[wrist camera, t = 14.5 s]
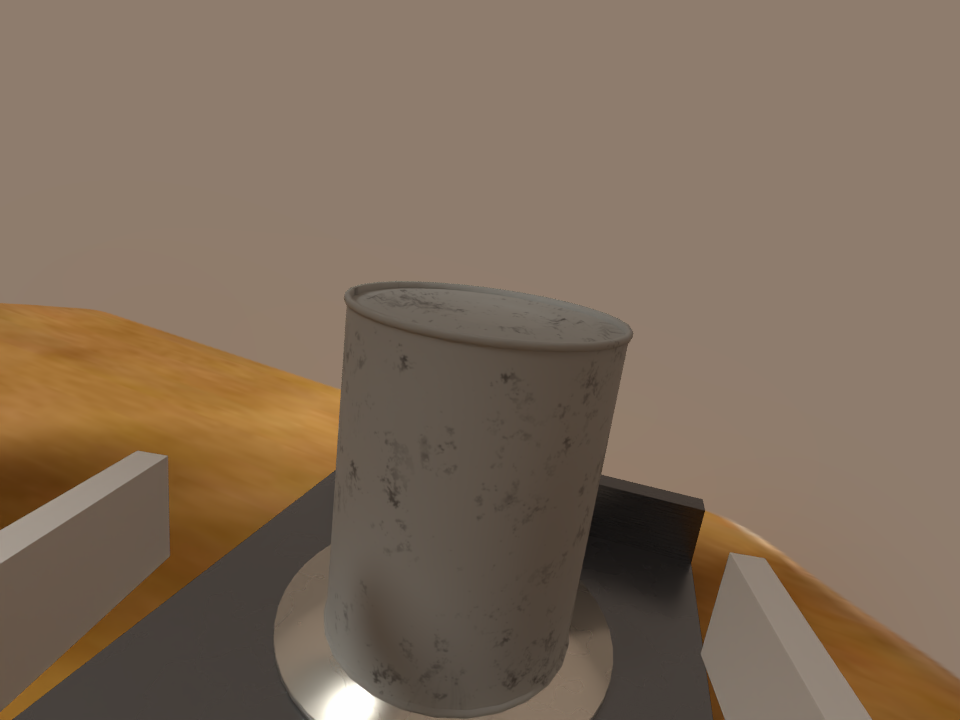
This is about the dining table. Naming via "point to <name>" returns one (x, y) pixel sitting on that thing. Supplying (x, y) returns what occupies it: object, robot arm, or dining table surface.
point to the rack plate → (347, 706)
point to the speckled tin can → (465, 489)
